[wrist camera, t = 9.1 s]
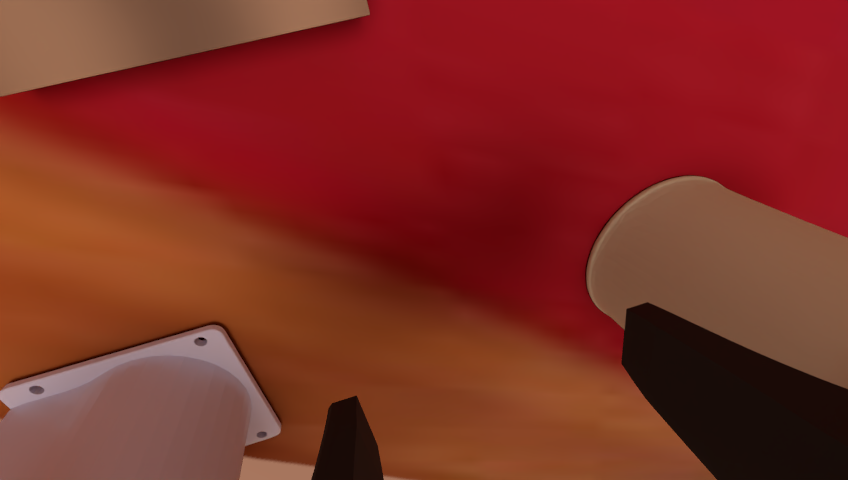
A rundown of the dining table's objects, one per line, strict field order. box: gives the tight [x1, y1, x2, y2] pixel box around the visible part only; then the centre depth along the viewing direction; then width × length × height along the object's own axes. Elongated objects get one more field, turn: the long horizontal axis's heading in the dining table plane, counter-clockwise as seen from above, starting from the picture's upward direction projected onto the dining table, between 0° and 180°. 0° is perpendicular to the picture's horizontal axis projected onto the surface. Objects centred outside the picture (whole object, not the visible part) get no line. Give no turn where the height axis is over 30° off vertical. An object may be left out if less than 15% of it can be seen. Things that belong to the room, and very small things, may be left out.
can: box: [586, 176, 848, 389], centre depth 17 cm, size 9×9×12 cm
